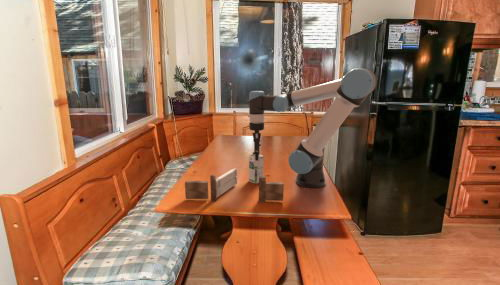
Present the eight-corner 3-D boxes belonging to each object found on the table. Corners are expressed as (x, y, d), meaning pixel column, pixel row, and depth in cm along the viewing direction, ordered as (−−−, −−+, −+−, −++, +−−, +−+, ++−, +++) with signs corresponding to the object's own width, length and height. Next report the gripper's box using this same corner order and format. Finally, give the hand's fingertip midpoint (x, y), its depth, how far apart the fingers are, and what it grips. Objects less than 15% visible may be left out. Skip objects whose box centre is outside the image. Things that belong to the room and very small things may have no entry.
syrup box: (248, 181, 155) (248, 155, 152) (255, 178, 159) (256, 153, 156) (255, 184, 151) (256, 157, 148) (263, 181, 155) (264, 155, 152)
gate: (217, 196, 133) (217, 180, 131) (214, 195, 134) (213, 180, 132) (236, 183, 149) (236, 169, 147) (233, 182, 150) (233, 168, 148)
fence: (282, 200, 133) (283, 175, 130) (283, 203, 130) (284, 178, 127) (187, 198, 134) (185, 173, 131) (185, 201, 131) (184, 176, 128)
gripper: (250, 118, 159) (250, 155, 164) (248, 126, 135) (249, 169, 140) (263, 118, 159) (263, 155, 164) (264, 126, 135) (264, 169, 140)
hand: (257, 162), depth 152 cm, fingers open, 13 cm apart
